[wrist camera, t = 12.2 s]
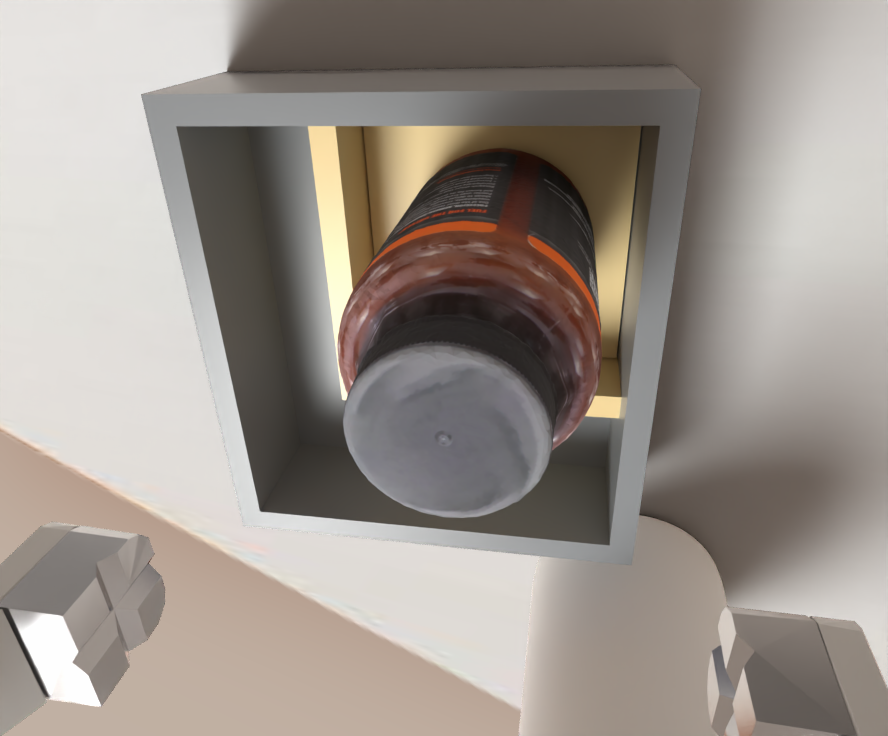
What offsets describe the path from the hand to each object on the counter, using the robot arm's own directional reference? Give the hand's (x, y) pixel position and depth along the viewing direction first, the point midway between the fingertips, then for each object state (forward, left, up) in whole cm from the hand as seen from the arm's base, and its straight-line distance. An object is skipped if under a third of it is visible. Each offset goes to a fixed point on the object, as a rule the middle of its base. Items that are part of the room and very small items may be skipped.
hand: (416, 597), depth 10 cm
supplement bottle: (0, 0, -15) cm, 15 cm away
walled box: (-2, +2, -16) cm, 16 cm away
